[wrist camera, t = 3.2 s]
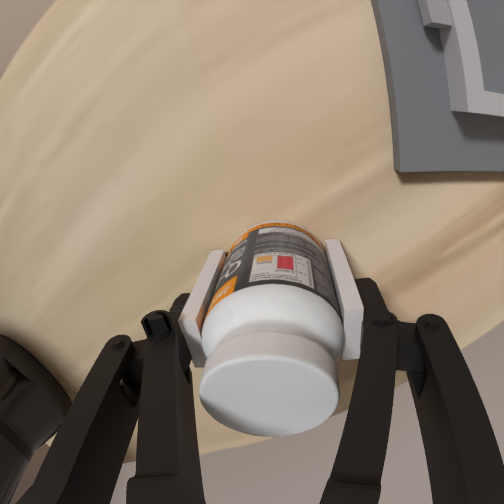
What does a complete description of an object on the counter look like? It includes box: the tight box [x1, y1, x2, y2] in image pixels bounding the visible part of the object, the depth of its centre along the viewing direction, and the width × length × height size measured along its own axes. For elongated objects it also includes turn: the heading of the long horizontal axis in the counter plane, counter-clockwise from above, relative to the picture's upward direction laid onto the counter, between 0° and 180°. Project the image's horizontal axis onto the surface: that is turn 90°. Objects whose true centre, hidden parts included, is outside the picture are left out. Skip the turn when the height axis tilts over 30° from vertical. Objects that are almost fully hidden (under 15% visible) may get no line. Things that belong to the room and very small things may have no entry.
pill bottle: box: [199, 220, 344, 437], centre depth 14 cm, size 6×6×10 cm
